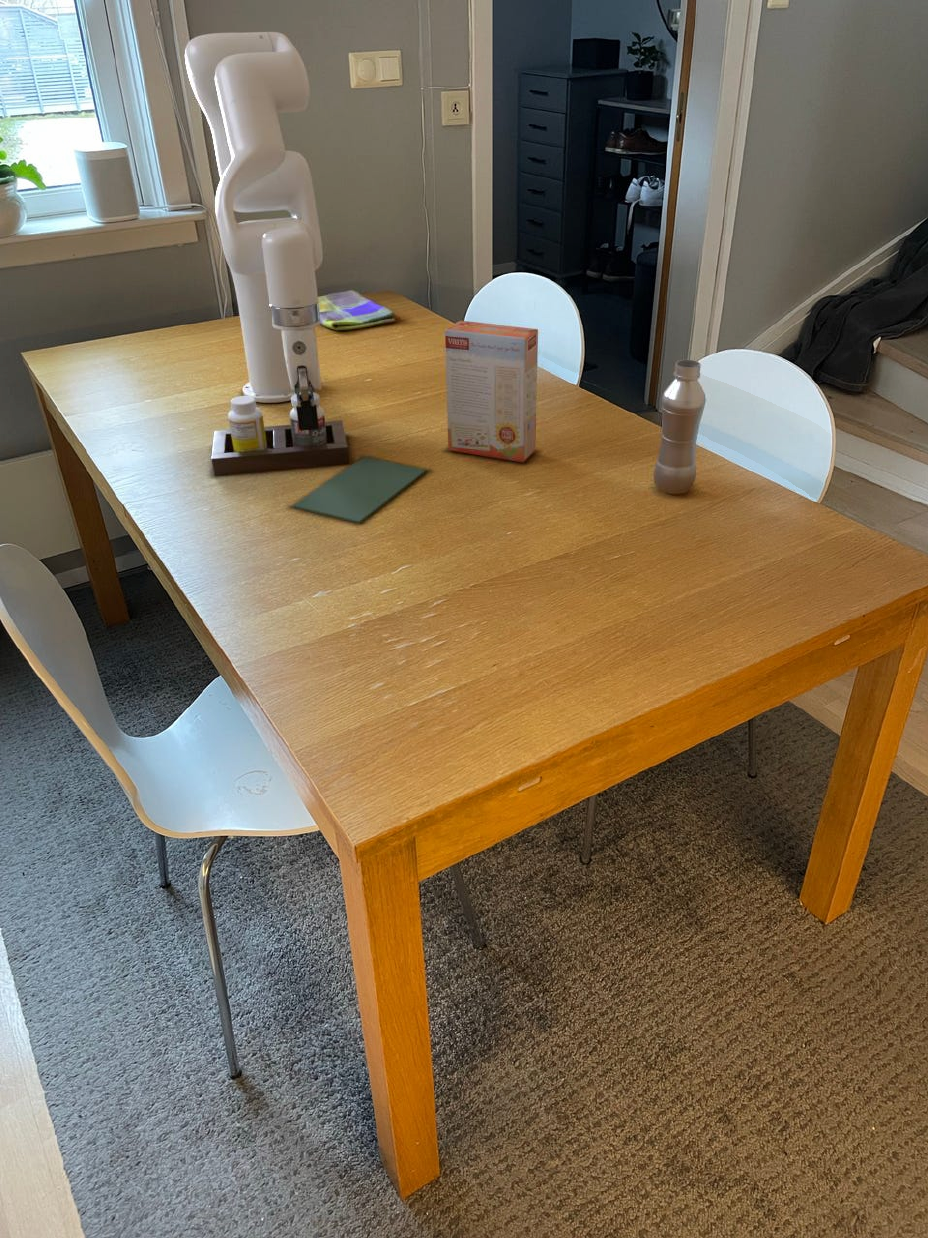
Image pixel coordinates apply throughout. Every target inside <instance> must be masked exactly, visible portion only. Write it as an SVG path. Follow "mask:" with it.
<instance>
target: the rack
mask: <svg viewBox="0 0 928 1238" xmlns="http://www.w3.org/2000/svg"><path fill="white" fill-rule="evenodd" d="M325 427H326V437H327V444H324V445H313V446H301V447H294V446H293V438H292V429H291V424H280V425H279V424H278V425H267V426H264V429H265V435H266V442H267V449H266V450H255V451H243V452H234V447H233V442H232V436H231V430H230V429H221V430H214V433H213V439H212V440H213V441H212V449H211V465H212V470H213V475H214V476H215V477H216V476H227V475H238V474H240V475H241V474H249V473H260V472H273V471H282V470H294V469H307V468H317V467H327V466H328V467H329V466H337V465H338V466H339V465H349V464H350V459H349V447H348V441H347V437H346V431H345V427H344V421H343V420H342V419H341V420H329V421H325ZM329 442H333V443H329ZM288 446H290V447H288ZM271 447H273V448H271ZM229 451H231V452H229ZM232 451H233V452H232Z"/></svg>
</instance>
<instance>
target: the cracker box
mask: <svg viewBox="0 0 928 1238" xmlns="http://www.w3.org/2000/svg"><path fill="white" fill-rule="evenodd" d="M444 336H445V341H444V343H445V377H446V382H445V383H446V416H447V418H446V419H447V445H448V446H447V447H448V451H451V452H456V453H463V454H469V455H473V456H474V455H475V456H481V457H488V458H493V459H500V460H506V461H512V462H516V463H517V462H518V463H525V461H527V459H528V458H529V457H531V455H532V454H533V453H534V452H535V451H536V439H537V437H536V435H537V434H536V433H537V431H536V430H537V401H538V400H537V398H538V397H537V395H538V391H537V390H538V358H539V357H538V351H539V349H538V348H539V328H532V327H531V328H530V327H522V326H513V325H505V324H504V325H503V324H494V323H486V322H485V323H484V322H477V321H467V320H458V321H457V322H455V323H454V324H451V326H449V327H447V328H445V329H444Z"/></svg>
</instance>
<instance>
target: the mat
mask: <svg viewBox="0 0 928 1238" xmlns="http://www.w3.org/2000/svg"><path fill="white" fill-rule="evenodd" d="M426 472H427V469H426V468H419V467H417V466H411V465H406V464H402V463H397V462H393V461H388V460H383V459H380V458H379V459H378V458H374V457H369V456H363V457H361V458H360V459H358V460H357V461H355V462H354V463H353V464H351V465H349V466H348V467H346V469H344V470H342V471H341V472H340V473H338V474H337V475H335V476H334V477H332V478H331V479H329V480H327V481H326V482H325V483H323V484H322V485H320V486H319V487H318V488H316V489H315V490H313V491H312V492H310V493H308V494H307V495H306V496H304V497H303V498H302V499H300V500H298V501H297V502H296V503H294V504H293V508H294V509H299V510H302V511H307V512H312V513H315V514H319V515H323V516H327V517H330V518H334V519H335V518H336V519H339V520H344V521H348V522H351V523H356V524H361V523H362V522H364V521H365V520H367V518H369V517H370V516H372V514H374V513H375V512H377V511H378V510H379V509H380V508H382V507H383V506H384V505H385V504H387V503H388V502H389V501H391V500H392V499H393V498H395V496H397V495H399V494H400V493H401V492H403V491H404V490H405V489H406V488H407V487H408V486H410V485H411V484H412V483H414V482H415V481H417V479H419V478H420V477H422V475H424V474H425V473H426Z"/></svg>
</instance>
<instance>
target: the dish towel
mask: <svg viewBox="0 0 928 1238" xmlns="http://www.w3.org/2000/svg"><path fill="white" fill-rule="evenodd" d="M318 304H319V313H320V324H319V325H321V326H322V327H325V328H327V329H331V330H335V331H348V330H357V329H363V328H368V327H374V326H378V325H384V324H385V325H386V324H391V323H394V322H396V320H395V318H393V317H394V316H395V312H394V311H393V310H391V309H389V308H388V307H385V306H383V305H381V304H378V303H376V302H374V301H372V300H371V299H369V298H366V297H364V296H363V295H361V293H360V292H358V291H355V290H354V289H351V290H346V291H341V292H333V293H329V294H325V295H321V296H318Z"/></svg>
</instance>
